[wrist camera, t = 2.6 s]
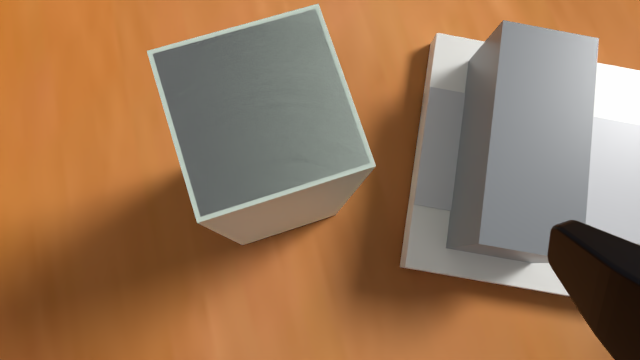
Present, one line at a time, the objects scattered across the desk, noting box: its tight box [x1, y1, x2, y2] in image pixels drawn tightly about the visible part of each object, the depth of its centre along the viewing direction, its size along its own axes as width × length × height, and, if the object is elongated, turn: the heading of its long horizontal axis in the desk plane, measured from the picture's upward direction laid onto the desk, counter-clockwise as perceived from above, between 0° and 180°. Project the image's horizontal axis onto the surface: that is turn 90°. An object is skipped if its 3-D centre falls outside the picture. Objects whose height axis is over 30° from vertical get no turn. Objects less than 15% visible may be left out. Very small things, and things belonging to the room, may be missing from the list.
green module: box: [147, 4, 376, 245], centre depth 16 cm, size 4×4×10 cm
